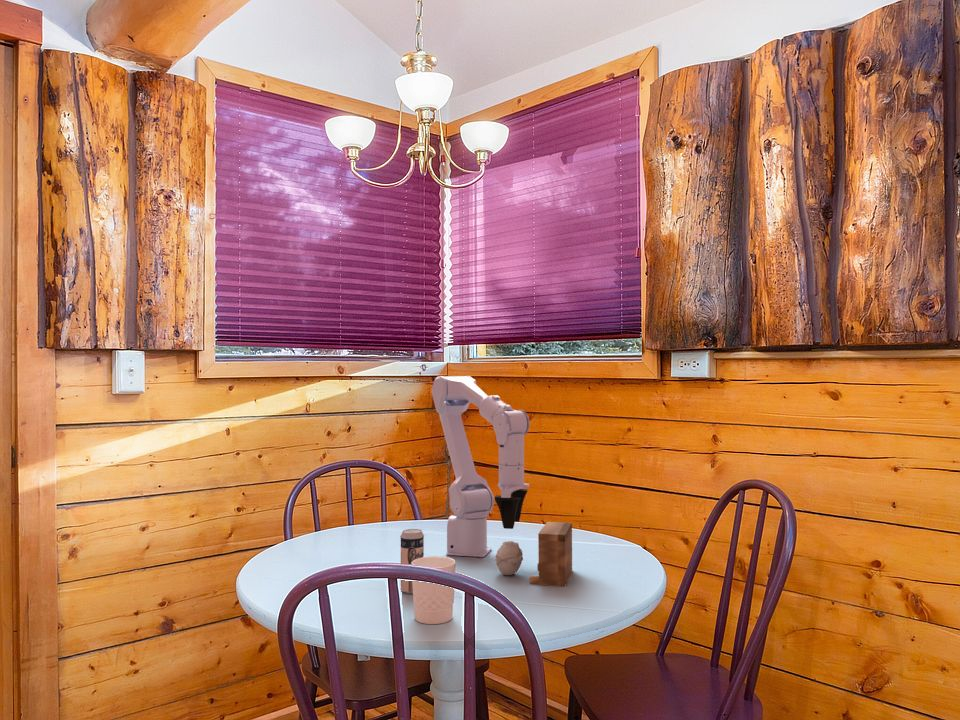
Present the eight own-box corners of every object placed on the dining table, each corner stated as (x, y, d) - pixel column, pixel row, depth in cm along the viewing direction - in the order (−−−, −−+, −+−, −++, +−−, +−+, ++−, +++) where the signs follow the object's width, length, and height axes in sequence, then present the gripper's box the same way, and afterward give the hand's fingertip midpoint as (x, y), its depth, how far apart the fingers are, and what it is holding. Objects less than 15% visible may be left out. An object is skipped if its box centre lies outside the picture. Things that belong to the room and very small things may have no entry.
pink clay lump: (528, 572, 156) (527, 540, 156) (515, 580, 150) (515, 547, 150) (502, 568, 159) (502, 537, 159) (489, 576, 152) (489, 544, 152)
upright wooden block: (529, 584, 147) (528, 533, 147) (538, 568, 159) (538, 521, 159) (565, 586, 145) (565, 534, 145) (572, 570, 157) (571, 522, 157)
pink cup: (403, 622, 125) (403, 565, 125) (423, 608, 132) (423, 554, 132) (445, 628, 122) (444, 569, 122) (462, 613, 129) (462, 558, 129)
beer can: (414, 596, 139) (414, 534, 140) (395, 592, 142) (395, 532, 142) (429, 589, 143) (428, 530, 144) (410, 586, 146) (410, 527, 146)
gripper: (523, 469, 152) (524, 532, 152) (533, 460, 166) (534, 518, 166) (491, 468, 153) (491, 531, 153) (504, 459, 168) (504, 517, 167)
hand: (511, 524), depth 160 cm, fingers open, 7 cm apart
